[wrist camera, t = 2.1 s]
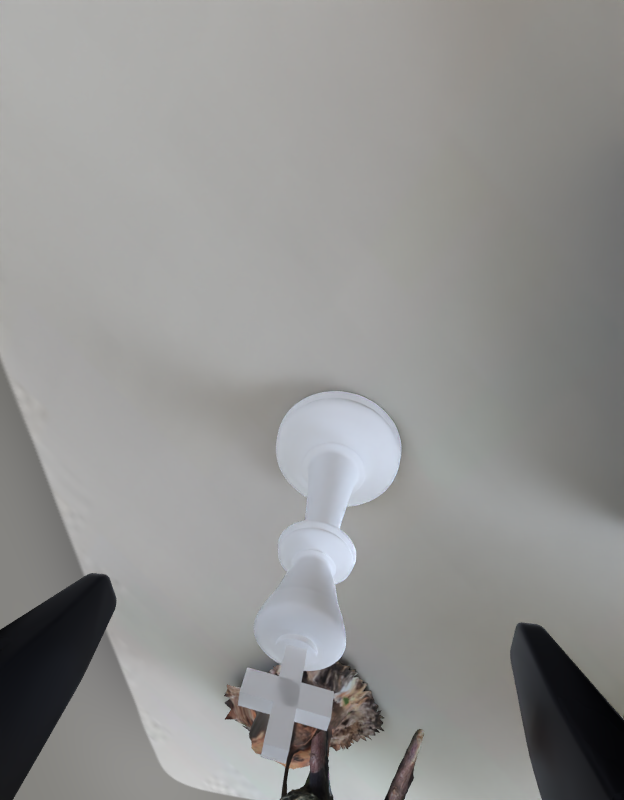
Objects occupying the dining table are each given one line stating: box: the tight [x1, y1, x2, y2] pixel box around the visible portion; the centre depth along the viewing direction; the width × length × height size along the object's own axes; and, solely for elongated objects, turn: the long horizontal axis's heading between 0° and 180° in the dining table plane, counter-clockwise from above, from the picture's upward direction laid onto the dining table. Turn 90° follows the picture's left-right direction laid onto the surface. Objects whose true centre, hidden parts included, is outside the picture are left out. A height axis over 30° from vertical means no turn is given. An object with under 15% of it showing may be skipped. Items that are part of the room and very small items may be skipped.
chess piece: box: [238, 391, 402, 764], centre depth 11 cm, size 5×5×10 cm
